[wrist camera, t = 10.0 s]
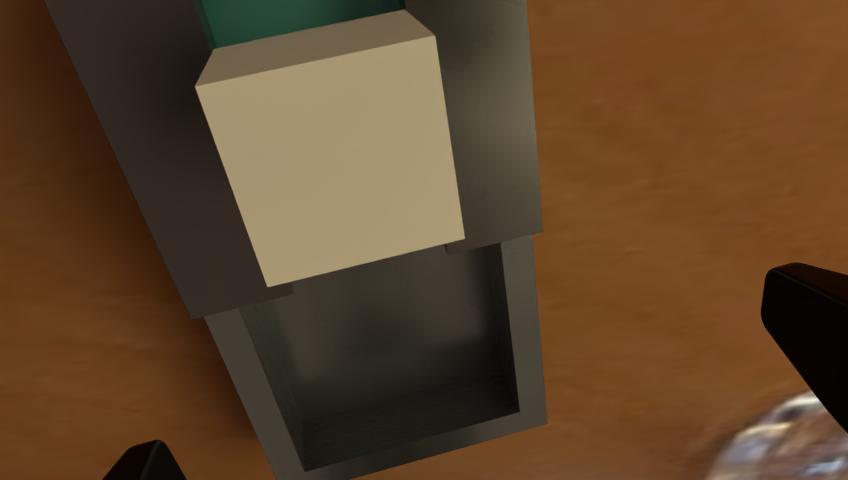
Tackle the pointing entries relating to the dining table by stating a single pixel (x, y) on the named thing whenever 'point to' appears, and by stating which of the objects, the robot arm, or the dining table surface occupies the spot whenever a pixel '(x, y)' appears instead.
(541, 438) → the dining table surface
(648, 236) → the dining table surface
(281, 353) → the keyhole guide
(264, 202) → the slider
